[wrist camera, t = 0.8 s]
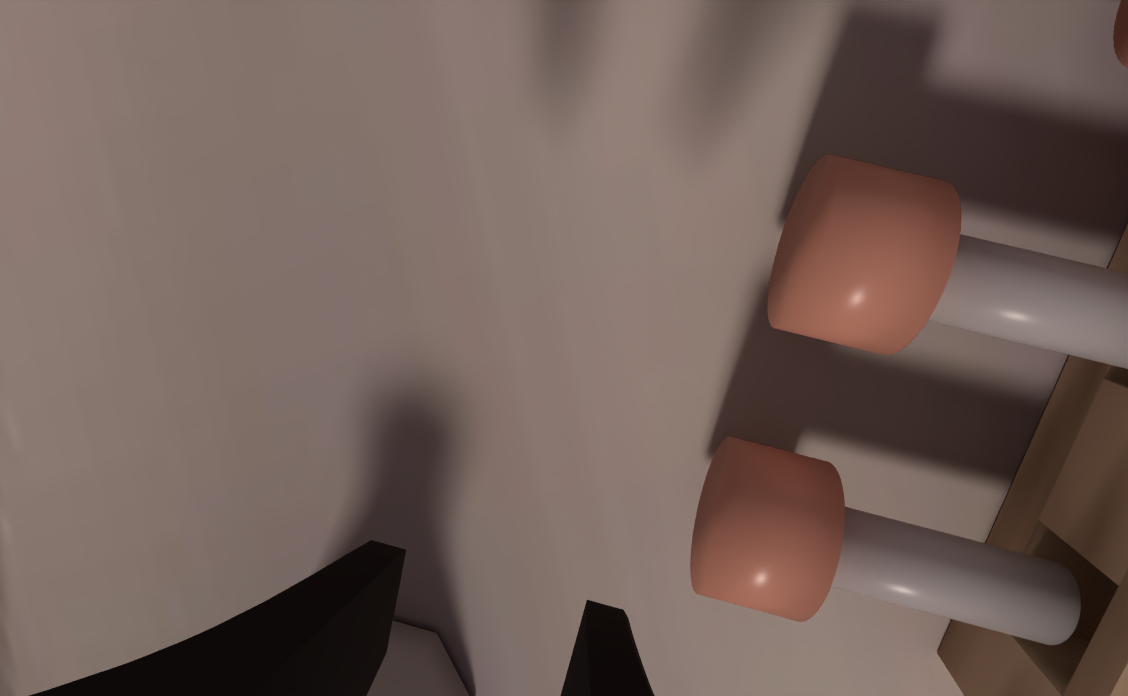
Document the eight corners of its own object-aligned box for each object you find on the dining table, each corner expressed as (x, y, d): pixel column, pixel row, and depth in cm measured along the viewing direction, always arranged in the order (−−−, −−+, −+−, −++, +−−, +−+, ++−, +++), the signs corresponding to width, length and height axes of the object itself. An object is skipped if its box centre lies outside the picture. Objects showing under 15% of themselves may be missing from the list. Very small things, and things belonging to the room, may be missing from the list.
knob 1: (1150, 238, 16) (1316, 253, 12) (1082, 391, 17) (1213, 450, 13) (804, 159, 16) (855, 147, 12) (757, 311, 17) (790, 345, 13)
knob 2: (1034, 494, 18) (1145, 579, 14) (978, 619, 19) (1067, 730, 15) (724, 415, 18) (747, 475, 14) (686, 540, 19) (697, 629, 15)
